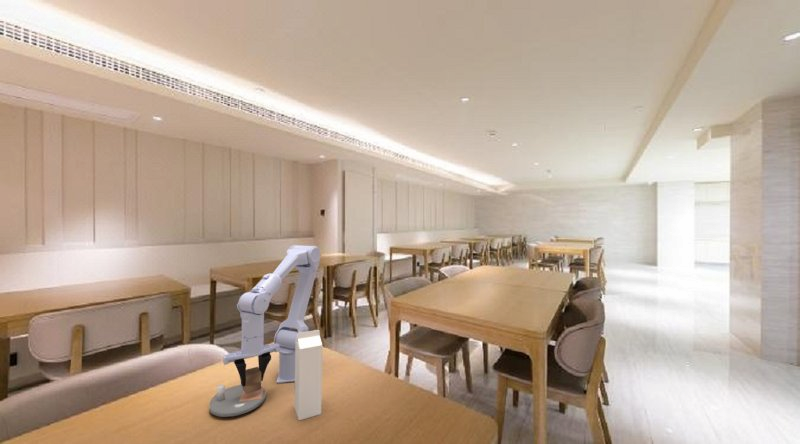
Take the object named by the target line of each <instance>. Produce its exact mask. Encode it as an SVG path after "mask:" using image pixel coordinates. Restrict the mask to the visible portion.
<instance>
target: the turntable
mask: <svg viewBox="0 0 800 444" xmlns="http://www.w3.org/2000/svg"><path fill="white" fill-rule="evenodd" d="M265 399H266V389H265V387H264V386H262V385H261V390H257V391H254V392H251V393H248V394H245V392H244V390H243V388H242V385H241V384H237V385H234V386H230V387H227V388H226V385H225V384H220V385H218V386H216V394H215V395H214V396H213V397H212V398H211V399H210V401H209V403H208V404H209V405H208V407H209V408H208V409H209V412H210V413H211V415H214V416H217V417H221V418H222V417H223V418H225V417H226V418H227V417H228V418H229V417H235V416H240V415H243V414H246V413H249V412H251V411H253V410H255V409H256V408H258V407H259V406H261V405H262V404H263V403H264V401H265Z"/></svg>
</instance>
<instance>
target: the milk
mask: <svg viewBox="0 0 800 444" xmlns="http://www.w3.org/2000/svg"><path fill="white" fill-rule="evenodd" d="M322 384H323V342H322V339H321V331H320V330H319V329H314V330H308V332H302V333H298V339H297V340H296V341H295V381H294V408H293V409H294V411H295V415H296V417H297V420H298V421H302V420H306V419H310V418H312V417H315V416H319V415H322V399H323V398H322V396H323V395H322V393H323V392H322V391H323V390H322V389H323V386H322Z"/></svg>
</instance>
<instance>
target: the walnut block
mask: <svg viewBox="0 0 800 444" xmlns="http://www.w3.org/2000/svg"><path fill="white" fill-rule="evenodd" d="M245 379H246V383H245V386H242V388H243V390H244V392H245V394H248V393H251V392H254V391H257V390H261V386H262V381H261V371H260V369H259V366H255V367H251V368H248V369H247V368H246V372H245Z"/></svg>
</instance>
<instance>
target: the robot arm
mask: <svg viewBox="0 0 800 444" xmlns="http://www.w3.org/2000/svg"><path fill="white" fill-rule="evenodd" d="M321 257H322V254H321V251H320V249H319V247H318V246H316V245H299V244H293V245H291V246H290V247H289V248H288V249H287V250H286V255H285V257H284V258H283V259H282V261H281V262H280V264H278V266H276V268H275V270H274V271H273V272H272V273H267V274H264V275H263V276H262V278H261V279H260V280H259V281H258V282H257V284H256V285H255V286H254V287H252V289H251V290H250V291H247V292H244V293H243V294H242V295H241V296H240V297H239V299H238V303H236V309H237V310H238V312H239V313H240V314H239V315H240V316H239V317H240V318H241V343H240V344H241V349H239V350H237V351H236V350H235V351H234V352H230V353H227V354H224V355H223V356H222V363H223V365H224V366H227V365H229V364H231V363H233V364H234V366H235V367H236V370H237V373H238V375H239V379H240V385H242V386H245V383H246V379H245V372H246V370H247V363H246V360H247V359H250V358H255V357H257V362H258V368H259V369H260V371H261V382H263V380H264V377H265V373H266V370H267V369H268V368H267V367H268V366H269V363H270V361H271V360H272V355H271V353H278V352H279V354H278V358H279V360H278V374H277V379H276V382H275V383H276V384H283V383H291V382H295V341H296V340H297V339H298V333H302V332H308V331H310V330H309V326H307V324H306V322H304V320H305V317H306V313H307V309H308V304H309V302H310V298H311V293H312V290H313V286H314V282H315V278H316V275H317V271H318V269H319V265H320V261H321ZM294 268H295V270H298V272H299V277H298V280H297V284H296V287H295V290H294V294H293V298H292V301H291V305H290V307H289V312H288V316H287V318H286V319H285V320H283V321H282V322H280V324H279V327H278V329H277V331H276V332H275V334H274V337H273V343H269V344H264V339H265V337H264V336H265V335H264V332H265V328H264V327H265V325H264V324H265V312H266V311H267V310H268V308H269V307H270V302H271V300H272V297H273V296H274V295H275V294H276V293H277V292H278V290H279V289H280V288H281V287H282V285H283V284H282V283H283V282H282V280H283V279H284V278H285V277H286V276H287V275H288V274H290V272H291V271H293V270H294ZM295 329H296V330H295Z"/></svg>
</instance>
